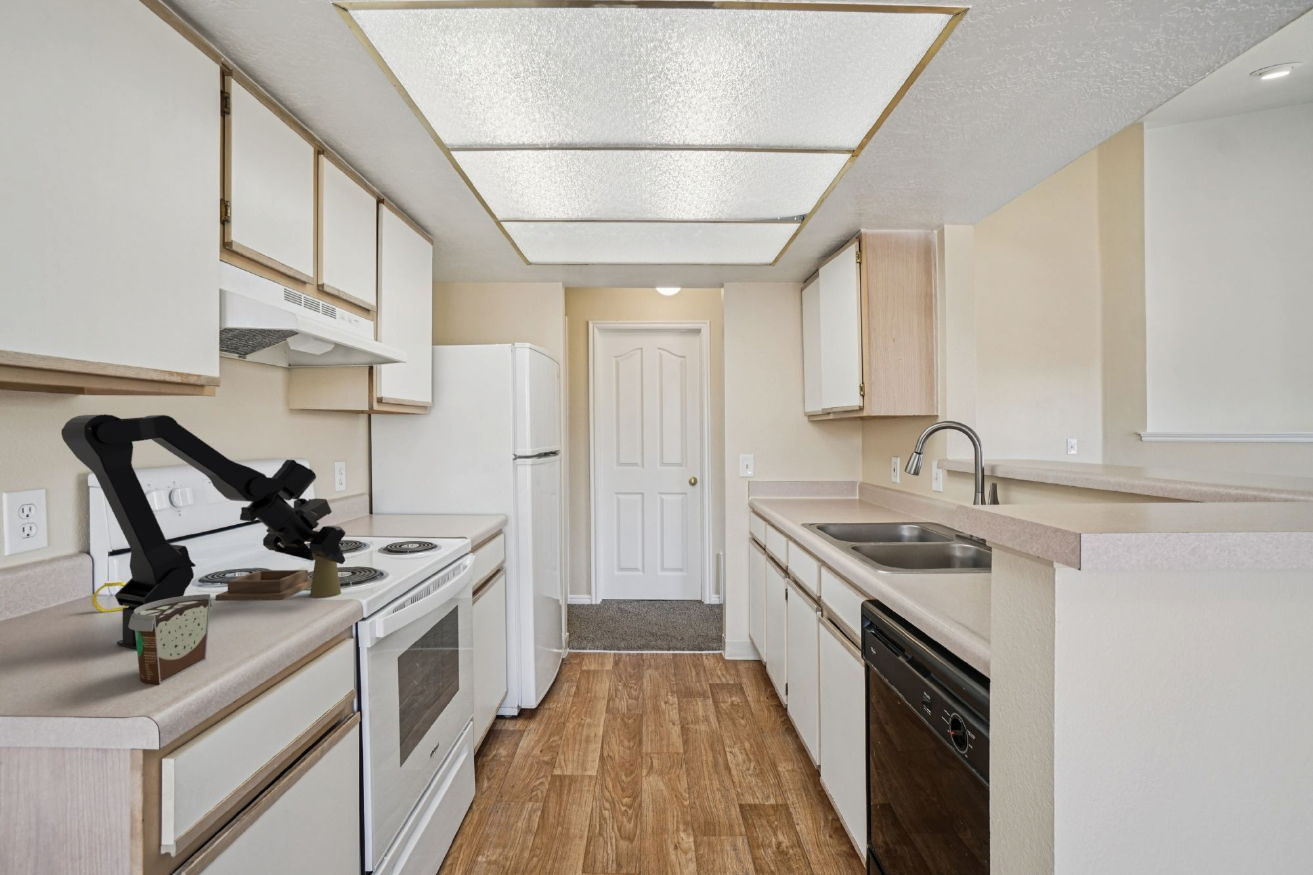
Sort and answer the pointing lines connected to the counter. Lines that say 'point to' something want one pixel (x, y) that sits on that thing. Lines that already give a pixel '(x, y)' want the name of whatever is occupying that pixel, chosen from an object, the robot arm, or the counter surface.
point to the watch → (108, 583)
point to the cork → (324, 578)
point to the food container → (171, 636)
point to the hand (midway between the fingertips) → (328, 560)
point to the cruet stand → (267, 585)
